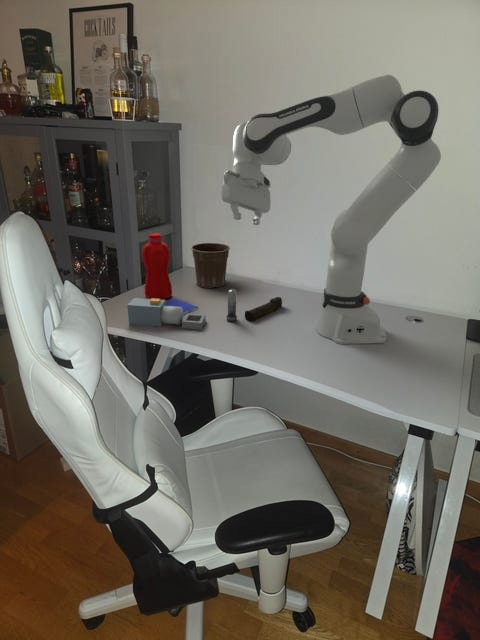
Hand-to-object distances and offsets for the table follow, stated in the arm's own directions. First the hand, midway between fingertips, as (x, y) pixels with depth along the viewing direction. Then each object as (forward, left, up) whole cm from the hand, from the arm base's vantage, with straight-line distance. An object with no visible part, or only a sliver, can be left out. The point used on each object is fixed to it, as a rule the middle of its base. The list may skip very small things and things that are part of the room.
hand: (246, 222), depth 127 cm
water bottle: (+36, -17, -34) cm, 53 cm away
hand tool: (-7, -8, -35) cm, 36 cm away
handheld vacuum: (+25, +6, -34) cm, 43 cm away
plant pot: (+18, -36, -34) cm, 53 cm away
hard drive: (+25, -8, -35) cm, 44 cm away
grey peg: (+4, 0, -34) cm, 34 cm away
